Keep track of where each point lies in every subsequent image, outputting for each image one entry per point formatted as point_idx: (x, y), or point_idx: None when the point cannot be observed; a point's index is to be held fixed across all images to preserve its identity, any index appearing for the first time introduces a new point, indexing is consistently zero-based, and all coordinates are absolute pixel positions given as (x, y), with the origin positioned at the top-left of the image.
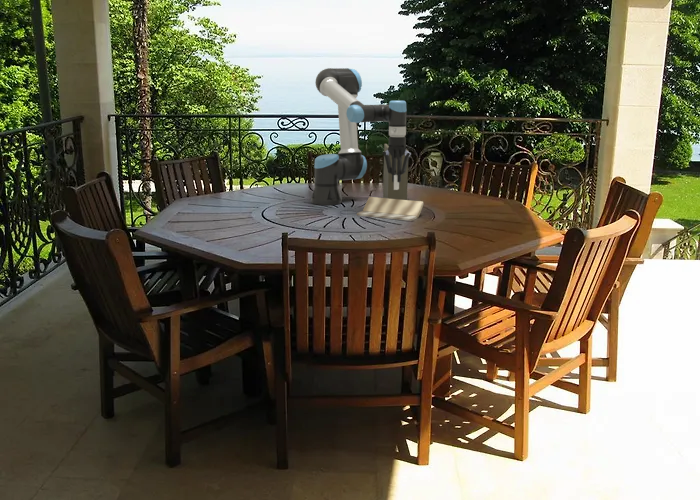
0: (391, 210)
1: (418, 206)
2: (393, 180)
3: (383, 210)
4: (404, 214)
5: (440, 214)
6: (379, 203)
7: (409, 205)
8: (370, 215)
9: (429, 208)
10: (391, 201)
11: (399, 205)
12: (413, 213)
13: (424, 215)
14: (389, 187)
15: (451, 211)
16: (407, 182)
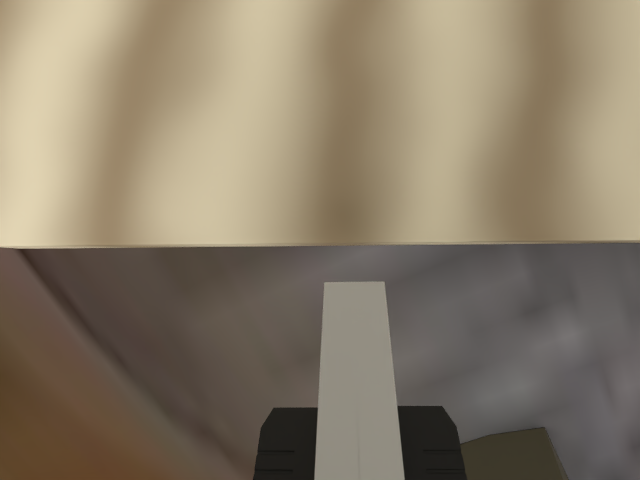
0: (351, 30)
1: (22, 151)
2: (420, 433)
3: (460, 13)
4: None
5: (25, 325)
6: (567, 130)
7: (141, 152)
8: None
9: (216, 462)
10: (408, 191)
11: (273, 133)
12: (51, 25)
13: None
14: None
15: (33, 436)
16: None
